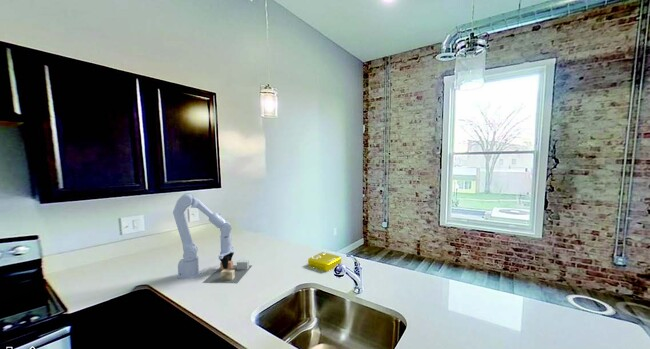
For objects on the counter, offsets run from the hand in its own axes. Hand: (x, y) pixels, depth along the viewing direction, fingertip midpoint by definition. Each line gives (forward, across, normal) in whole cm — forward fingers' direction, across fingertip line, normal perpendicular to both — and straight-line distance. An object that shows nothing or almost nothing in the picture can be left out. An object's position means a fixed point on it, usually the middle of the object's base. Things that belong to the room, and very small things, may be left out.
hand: (226, 267), depth 145 cm
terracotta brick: (+1, 0, 0) cm, 1 cm away
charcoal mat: (+2, -6, -4) cm, 7 cm away
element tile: (+2, +9, -55) cm, 56 cm away
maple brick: (+1, -12, -6) cm, 13 cm away
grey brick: (+1, +1, -9) cm, 9 cm away
